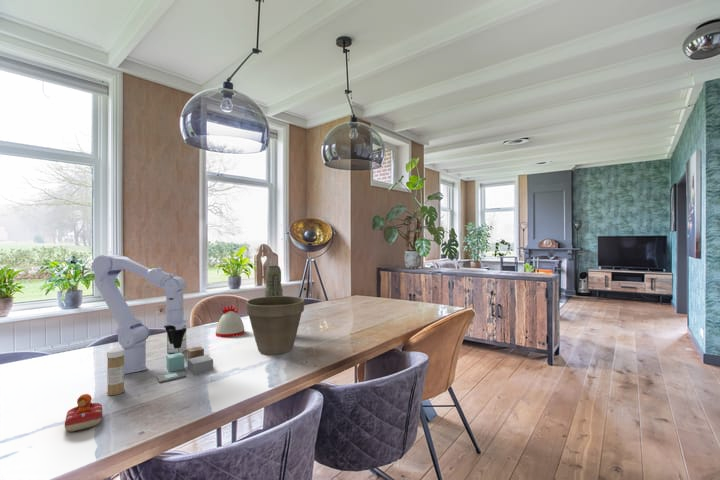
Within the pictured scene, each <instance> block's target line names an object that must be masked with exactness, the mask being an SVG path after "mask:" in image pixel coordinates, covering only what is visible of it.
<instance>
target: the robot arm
mask: <svg viewBox="0 0 720 480" xmlns="http://www.w3.org/2000/svg"><path fill="white" fill-rule="evenodd" d="M90 268H91V270H92V271H93V274H94V277H93V278H94V284H95V286H96V288H97V290H98V291H99V294H100V295H101V297H102V298H103V301H104V302H105V304H106V305H107V307H108V309H109V311H110V313H111V314H112V317H113V318H114V320H115V322H116V323H117V328H116V331H115V333H116V335H117V340H118V344H119V345H120V346H121V347H120V348H123V349H124V351H125V354H124V375H126V374H133V373H137V372H141V371H142V372H143V371H147V370H149V367H148V364H146V363H147V358H146V357H147V354H146V353H147V352H146V350H147V349H146V347H147V346H146V345H147V344H146V343H147V339H148V338H149V337H150V329H149V327H148V326H147V325H145V324H144V323H143V322H142V320H140V319H138V318H136V317H135V316H134V314H133V312H132V310H131V309H130V307H129V306H128V304H127V303H128V302H127V301H126V300H125V298H124V296H123V294H122V293H121V291H120V290H119V287H118V286H117V284H116V282H115V281H116V279H117V277H118V276H119V274H120V273H121V272H122V271H123V270H125V271H128V272H131V273H133V274H136V275H138V276H140V277H144V278H145V281H146V282H147V283H149V284H151V285H153V286H156V287H158V288H160V289H162V290H163V291H164V293H165V297H166V298H165V305H166V306H165V308H166V309H165V310H166V311H165V316H166V317H165V318H166V319H165V320H166V321H165V325H164V326H163V327H164V329H165V330H166V335H167V334H168V338H169V342H170V344H173V346H174V349H176V348H181V345H182V340H183V336H184V334H185V332H186V333H187V331H188V330H187V327H186V328H182V324H183V323H184V322H186V323H187V322H188V319H187V318H186V319H184V290H185V288H186V286H187V281H186V280H185V279H184V277H183V276H180V275H176V276H174V273H168V272H165V271H164V270H163V268H161V267H154V268H149V267H147V266H145V265H142V264H141V263H139V262H137V261H134V260H133V259H131V258H129V257H128V256H124V255H122V254H119V253H118V254H109V255H107V254H106V255H105V254H100V255H98V256H96V257H95V258H94V259H93V261H92V264H91V265H90Z"/></svg>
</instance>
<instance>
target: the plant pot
mask: <svg viewBox="0 0 720 480" xmlns="http://www.w3.org/2000/svg"><path fill="white" fill-rule="evenodd" d="M245 308H246V309H245V310H246V313H245V314H247V315H248V317H249V321H250V325H251V329H252V332H253V337H254V340H255V343H256V347H257V350H258V352H259V353H261V354H263V355H271V356H275V355H281V354H286V353H288V352H291V351H292V350H293V348H294V346H295V342H296V337H297V334H298V330H299V325H300V321H301V318H302V313H303V312H304V311H305V299H304V298H303V297H297V296H288V295H287V296H286V295H283V296H271V297H265V296H263V297H256V298H251V299H248V300H247V301H246V302H245Z"/></svg>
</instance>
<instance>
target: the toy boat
mask: <svg viewBox="0 0 720 480" xmlns="http://www.w3.org/2000/svg"><path fill="white" fill-rule="evenodd" d="M92 400H93V399H92V396H91V395H90V394H89V393H85V394H81V395H80V396H79V397H78V398H77V400H76V404H77V406H75V407H73V408H71V409H69V410H68V411H67V413H66V417H65V420H64V429H65V430H66V431H67V432H70V433H71V432H76V431H79V430H80V431H81V430H85V429H88V428H92V427H96V426H98V424H100V422H101V421H102V417H103V405H102V404H101V403H98V402H92Z"/></svg>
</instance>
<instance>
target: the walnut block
mask: <svg viewBox="0 0 720 480" xmlns="http://www.w3.org/2000/svg"><path fill="white" fill-rule="evenodd" d="M186 351H187V353H186V354H187V355H186V359H190V358H195V357H200V356H205V349H204V348H203V346H196V347H189V348H188V347H187V350H186Z"/></svg>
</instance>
